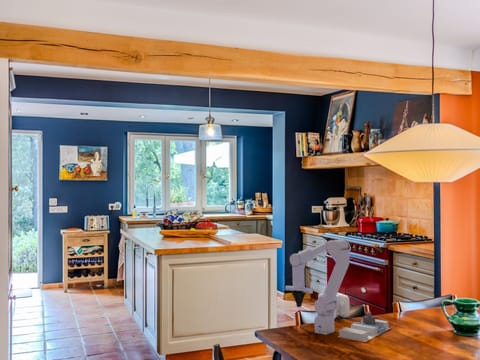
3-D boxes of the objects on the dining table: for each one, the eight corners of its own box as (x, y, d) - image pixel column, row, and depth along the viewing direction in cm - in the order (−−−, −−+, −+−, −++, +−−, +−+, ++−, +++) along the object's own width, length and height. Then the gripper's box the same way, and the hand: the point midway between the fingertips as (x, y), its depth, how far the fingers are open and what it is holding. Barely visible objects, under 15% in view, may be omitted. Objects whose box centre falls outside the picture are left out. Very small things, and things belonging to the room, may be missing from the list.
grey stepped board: (365, 344, 203) (364, 334, 203) (337, 338, 212) (337, 328, 212) (390, 330, 223) (390, 321, 223) (364, 325, 232) (364, 316, 232)
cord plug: (371, 331, 218) (371, 313, 218) (363, 330, 221) (362, 312, 221) (375, 329, 221) (374, 312, 222) (367, 328, 224) (366, 310, 224)
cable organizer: (317, 314, 255) (316, 292, 255) (334, 312, 259) (333, 290, 259) (333, 321, 241) (332, 297, 242) (351, 318, 245) (350, 295, 246)
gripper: (315, 278, 232) (316, 307, 232) (290, 275, 242) (291, 303, 241) (307, 280, 227) (308, 309, 226) (282, 277, 236) (283, 305, 236)
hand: (299, 306), depth 233 cm, fingers closed
